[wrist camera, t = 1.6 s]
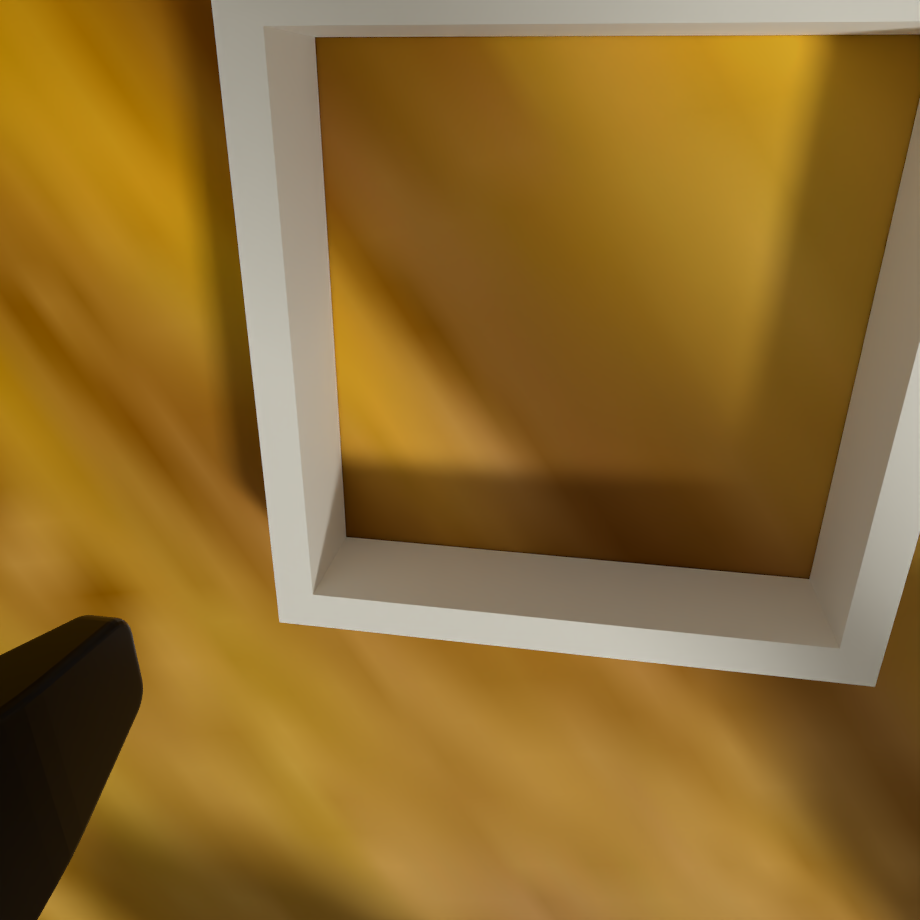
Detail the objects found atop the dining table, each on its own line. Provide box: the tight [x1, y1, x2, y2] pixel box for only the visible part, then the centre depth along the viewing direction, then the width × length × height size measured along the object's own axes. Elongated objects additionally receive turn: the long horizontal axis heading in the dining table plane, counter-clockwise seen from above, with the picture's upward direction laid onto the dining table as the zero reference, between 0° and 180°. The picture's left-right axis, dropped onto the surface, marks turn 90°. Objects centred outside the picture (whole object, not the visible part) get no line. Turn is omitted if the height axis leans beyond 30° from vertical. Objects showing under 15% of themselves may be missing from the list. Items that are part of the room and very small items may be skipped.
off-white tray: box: [211, 0, 920, 687], centre depth 18 cm, size 15×15×3 cm
